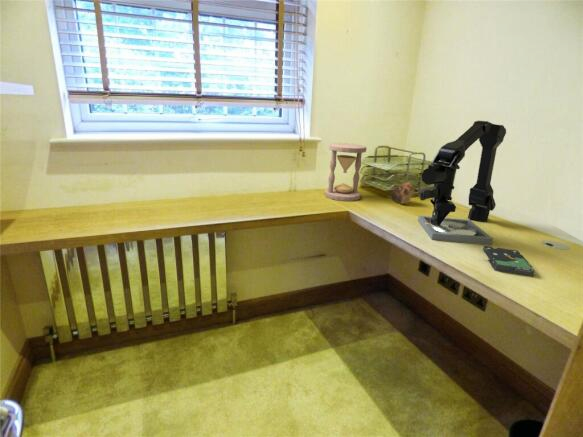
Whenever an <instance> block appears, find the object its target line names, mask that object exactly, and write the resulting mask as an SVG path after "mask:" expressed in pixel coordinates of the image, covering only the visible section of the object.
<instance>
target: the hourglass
mask: <svg viewBox="0 0 583 437" xmlns="http://www.w3.org/2000/svg"><path fill="white" fill-rule="evenodd" d="M328 150H330V151H331V158H330V162H329V163H330V164H329V168H330V173H329V175H328V187H327V188H326V189H325V190H324V196H325V197H326V198H328V199H331V200H334V201H335V200H336V201H340V202H355V201H358V200H360V199H361V192H359V191H358V187H359V186H358V185H359V183H360V182H359V181H360V169H361V166H362V155H363V153H367V146H366V145H362V144H356V143H355V144H354V143H348V142H347V143H346V142H345V143H343V142H342V143H341V142H340V143H339V142H333V143H329V146H328ZM338 152H339V153H348V154H349V153H350V154H356V156H354V155H347V154H345V155H344V154H338V155H337V153H338ZM337 161H338V162H339V164H340V166H341V168H342V170H343V171H342V172H343V173H344V174H347V173H348V170H349V169H350V167H351V166H352V165H353V163H354V169H355V172H354V175H353V178H352V182H353V184H352V186H350V185H348V184H346V183H343V182H342V183H340V184H336V185H335V184H334V183H335V179H336V175H335V169H336V167H337Z"/></svg>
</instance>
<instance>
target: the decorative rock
mask: <svg viewBox="0 0 583 437" xmlns="http://www.w3.org/2000/svg"><path fill="white" fill-rule="evenodd" d="M414 192H415V187H414V186H413V185H412V184H411V183H410V182H409V181H404V182H402V183H401V184H399V185H397V186H396V187H395V188H394V189H393V190H392V192H391V200H393V201H394V202H396V203H397V204H399V205H403V204H405V205H406V204H409V202H410V200H411V198H412V196H413V195H414Z"/></svg>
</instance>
